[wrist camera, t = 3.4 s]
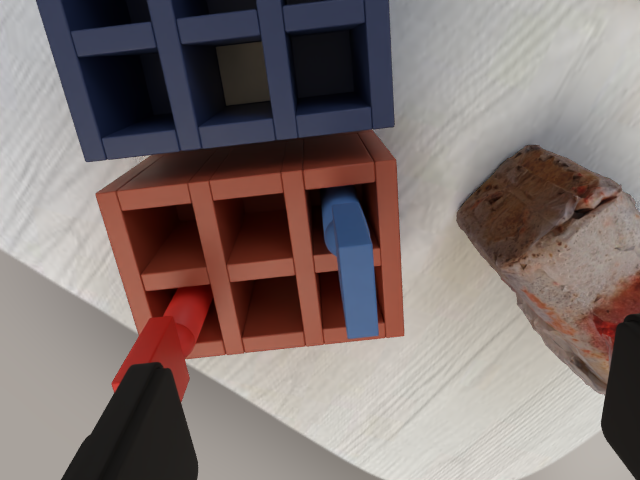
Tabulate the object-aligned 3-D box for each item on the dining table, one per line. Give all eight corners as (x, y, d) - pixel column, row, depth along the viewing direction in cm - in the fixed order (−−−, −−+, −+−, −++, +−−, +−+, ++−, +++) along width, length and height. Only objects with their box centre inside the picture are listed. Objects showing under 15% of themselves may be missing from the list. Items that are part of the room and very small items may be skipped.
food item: (659, 272, 30) (811, 369, 21) (560, 348, 32) (659, 466, 23) (534, 129, 26) (653, 171, 17) (430, 225, 29) (488, 308, 19)
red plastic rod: (203, 279, 29) (124, 457, 16) (192, 232, 27) (97, 384, 15) (232, 276, 29) (175, 452, 16) (222, 228, 27) (152, 378, 15)
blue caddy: (146, 131, 26) (85, 162, 19) (101, -49, 23) (5, -94, 15) (370, 105, 26) (395, 127, 19) (358, -80, 22) (382, -141, 15)
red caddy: (185, 287, 30) (147, 364, 23) (152, 153, 26) (94, 193, 19) (380, 266, 30) (404, 336, 22) (371, 128, 26) (396, 159, 19)
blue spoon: (321, 206, 27) (334, 341, 15) (315, 152, 26) (324, 248, 13) (352, 203, 27) (391, 334, 15) (347, 148, 26) (386, 242, 13)
